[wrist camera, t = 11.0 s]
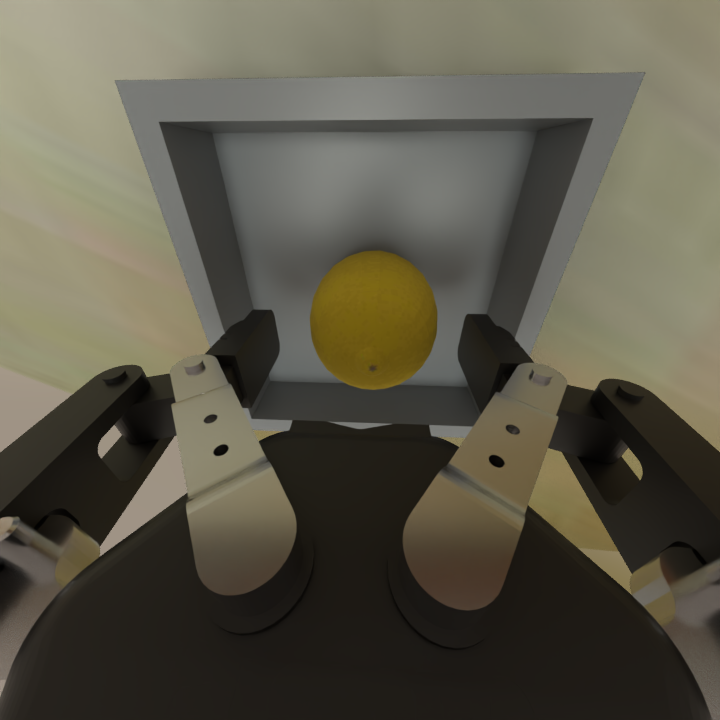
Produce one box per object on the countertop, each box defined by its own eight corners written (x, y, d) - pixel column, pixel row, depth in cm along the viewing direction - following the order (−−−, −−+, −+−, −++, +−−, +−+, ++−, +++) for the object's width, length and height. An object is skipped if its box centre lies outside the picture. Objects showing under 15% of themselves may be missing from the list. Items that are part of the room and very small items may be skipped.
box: (567, 99, 11) (645, 72, 8) (476, 395, 21) (495, 438, 17) (185, 103, 12) (114, 80, 9) (260, 388, 21) (239, 429, 18)
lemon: (370, 347, 18) (366, 447, 11) (305, 284, 16) (254, 360, 9) (443, 291, 16) (491, 375, 9) (379, 210, 14) (381, 242, 7)
